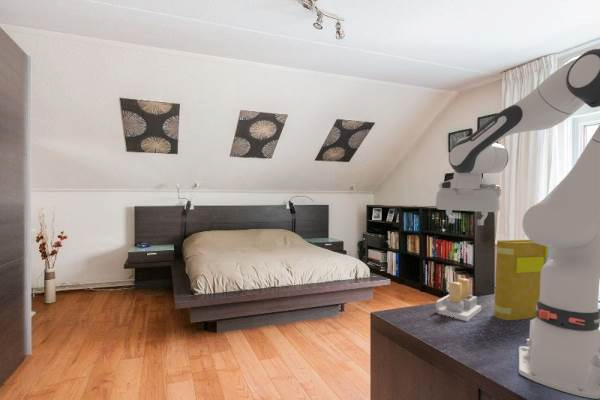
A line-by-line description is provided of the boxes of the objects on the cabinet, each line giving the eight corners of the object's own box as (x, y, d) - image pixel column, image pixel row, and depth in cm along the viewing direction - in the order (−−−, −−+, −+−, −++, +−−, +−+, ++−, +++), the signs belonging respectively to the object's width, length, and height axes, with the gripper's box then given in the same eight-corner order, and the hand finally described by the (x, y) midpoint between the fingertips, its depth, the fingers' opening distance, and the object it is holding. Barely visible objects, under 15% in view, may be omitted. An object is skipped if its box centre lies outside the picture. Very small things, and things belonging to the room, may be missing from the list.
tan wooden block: (466, 307, 119) (467, 281, 119) (455, 304, 122) (456, 279, 121) (469, 305, 122) (470, 279, 121) (458, 302, 124) (459, 277, 124)
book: (526, 310, 123) (529, 239, 122) (545, 316, 116) (548, 242, 116) (488, 314, 117) (492, 240, 117) (506, 321, 111) (509, 243, 110)
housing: (466, 321, 110) (468, 288, 110) (435, 313, 117) (436, 281, 117) (481, 310, 121) (482, 280, 121) (451, 303, 128) (452, 274, 128)
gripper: (503, 184, 116) (501, 226, 116) (441, 184, 130) (440, 221, 130) (498, 183, 111) (496, 227, 112) (434, 183, 125) (433, 222, 126)
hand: (465, 224), depth 121 cm, fingers open, 8 cm apart
